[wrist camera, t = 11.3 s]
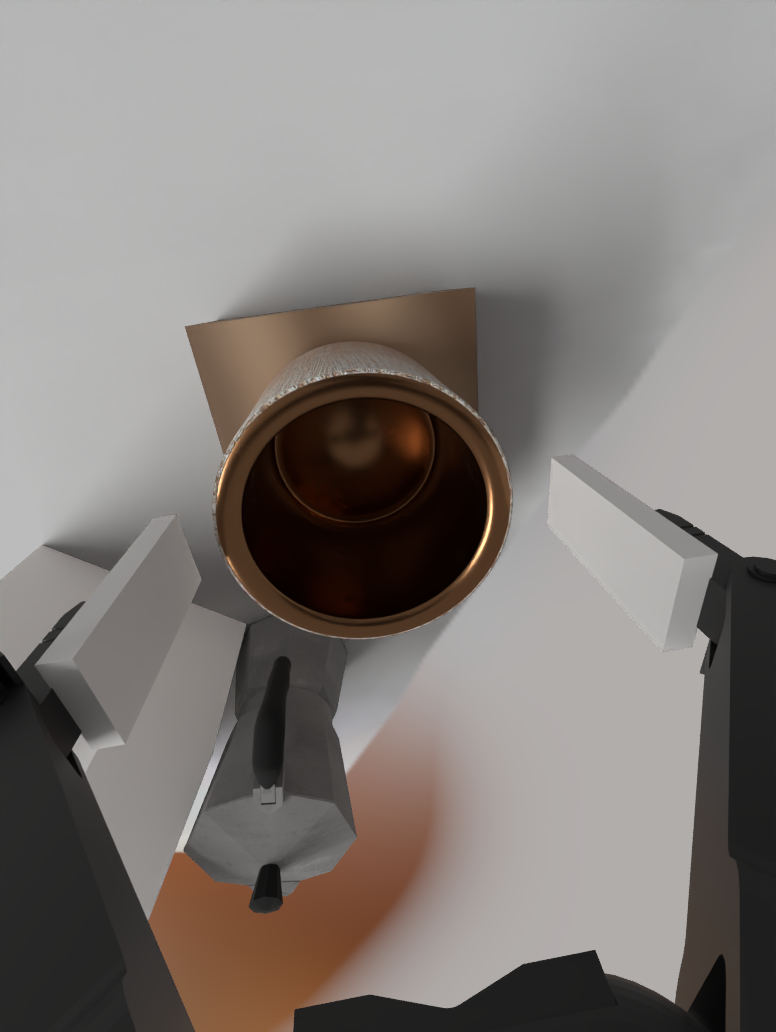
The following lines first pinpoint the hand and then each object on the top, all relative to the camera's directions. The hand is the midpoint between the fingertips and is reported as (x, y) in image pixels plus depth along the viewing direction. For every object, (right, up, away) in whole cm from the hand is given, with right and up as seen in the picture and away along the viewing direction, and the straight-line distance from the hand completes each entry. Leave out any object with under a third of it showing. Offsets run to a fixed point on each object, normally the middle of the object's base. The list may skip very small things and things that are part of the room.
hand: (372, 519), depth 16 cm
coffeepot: (-8, -10, +22) cm, 25 cm away
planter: (-1, +4, +9) cm, 10 cm away
